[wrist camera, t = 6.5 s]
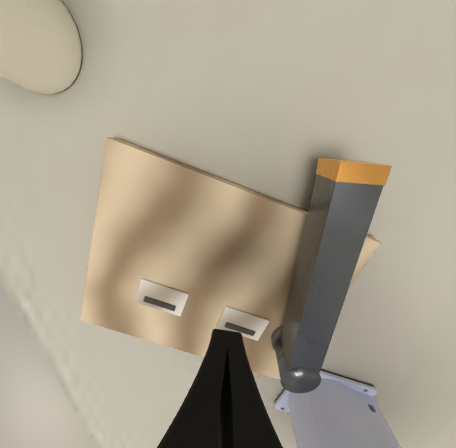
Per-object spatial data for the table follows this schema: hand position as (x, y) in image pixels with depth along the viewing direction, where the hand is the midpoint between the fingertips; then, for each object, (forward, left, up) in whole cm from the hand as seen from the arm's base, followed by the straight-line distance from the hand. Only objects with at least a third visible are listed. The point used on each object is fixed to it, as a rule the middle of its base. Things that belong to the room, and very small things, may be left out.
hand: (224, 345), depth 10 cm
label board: (0, +3, -9) cm, 10 cm away
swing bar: (-6, -1, -7) cm, 10 cm away
